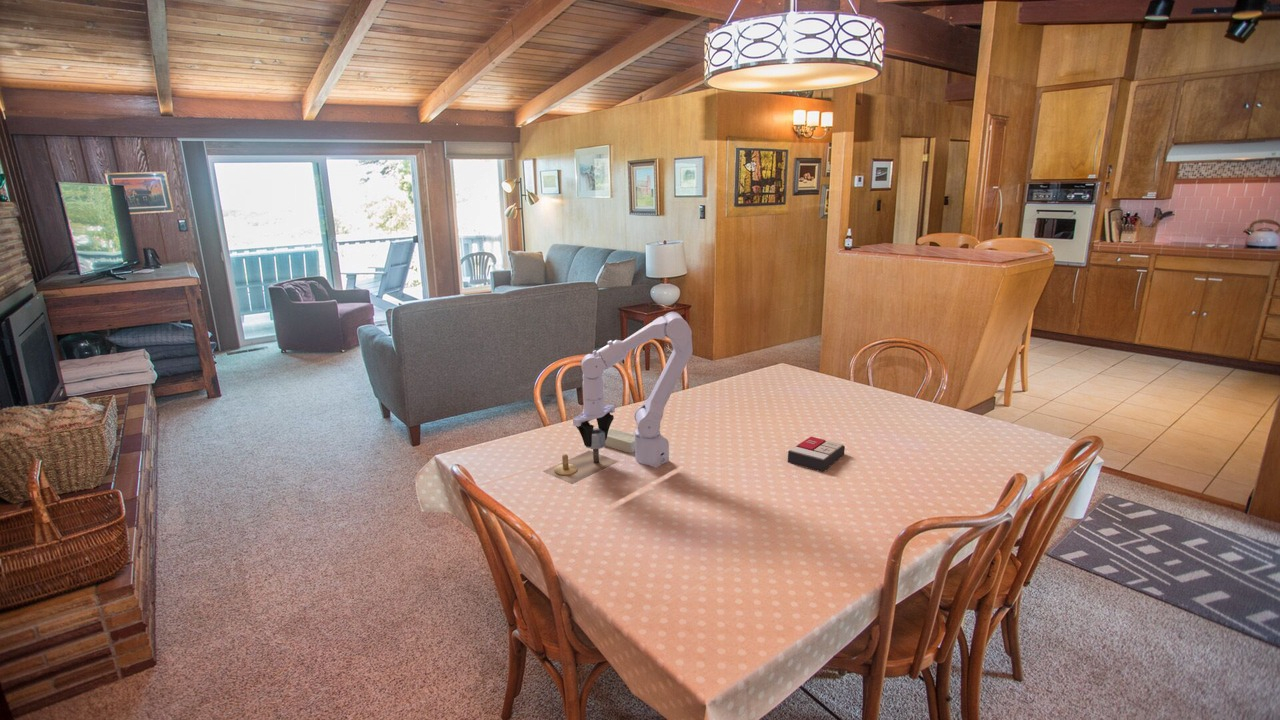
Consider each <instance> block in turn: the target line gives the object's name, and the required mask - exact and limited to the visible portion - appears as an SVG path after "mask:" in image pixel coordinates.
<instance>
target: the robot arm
mask: <svg viewBox="0 0 1280 720" xmlns="http://www.w3.org/2000/svg"><path fill="white" fill-rule="evenodd" d="M692 334H693V332H692V329H691V327H690V325H689V323H688V322H687V321H686V320H685V319H684V318H683V317H682V315H681V314H680V313H678V312H676V311H670V312H669V311H668V312H667V313H666V314H664V315H662V316H658V317H657V318H656V319H654V320H652V321H651V322H650V323H648V324H647V325H645V326H644V327H642V328H640V329H639V330H637V331H636V332H634V333H633V334H631V335H629V336H628V337H626V338H625V339H624V340H620V339H615V340H612V339H610V340H608V341H607V344H606V345H605V346H603V347H601V348H599V349H598V350H596V349H594V350H593V351H592V353H587V354H586V355H585V356H583V357H582V360H581V361H580V367H581V371H582V400H583V409H582V412H581V413H580V414H579V415H577V416H575V417H574V418H572V426H574V427H576V429H577V430H578V432H579V434H580V435H581V438H582V441H583V445H584V446H585V447H586V446H587V447H591V445H592V431H593V428H595V425H593V424H591V423H590V421H591V422H592V421H593V420H596V422H597V425H598V427H597V428H600V429H603V430H605V440H606V439H607V435H608V431H609V430H610V427H611V425H612V423H613V421H614V415H613V414H614V413H615V405H613V404H607V405H605V398H604V397H605V396H604V395H605V394H604V393H605V391H604V381H603V373H604V370H608V369H609V368H611V367H613V366H614V365H616V364H619V362H622V361H623V360H625V359H627V357H628V354H629V352H630V351H632V350H634V349H636V348H637V347H639V346H641V345H643V344H645V343H647V342H649V341H651V340H653V339H659V340H660V339H661V340H666V339H667V338H666V336H667V337H668V339H669V341H670V344H671V346H672V352H671V353H670V356H669V358H668V359H667V361H666V364H665V365H664V367H663V369H662V371H661V374H660V375H659V377H658V379H657V381H656V382H655V385H654V387H653V389H652V391H651V393H650V395H649V397H648V398H646V399H645V401H644V402H643V403H642V405H641V406H640V407H638V408H637V409H636V411H635V413H634V421H635V423H636V426H637V427H636V429H634V434H635V451H634V455H635V456H634V457H635V458H634V460H635V461H636V462H637V463H638V464H641V465H646V466H650V467H652V468H658V467H660V466H661V465H664V464H666V463H667V462H669V461H670V443H669V439H668V438H666V437H664V436H663V435H662V433H661V421H662V419H663V417H664V411H665V407H666V405H667V403H668V401H669V399H670V397H671V395H672V394H673V391H674V389H675V387H676V385H677V383H678V382H679V380H680V378H681V376H682V374H683V372H684V370H685V368H686V366H687V364H688V363H689V360H690V358H691V357H692V355H693V351H694V350H693V338H692ZM612 413H613V414H612ZM587 447H586V448H587Z"/></svg>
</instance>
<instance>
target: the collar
mask: <svg viewBox="0 0 1280 720" xmlns="http://www.w3.org/2000/svg"><path fill="white" fill-rule="evenodd" d="M604 447H606V446H605V430H603V429H600V428H598V427H597V428H595V427H593V431H592V445H591V447H587V446H585V448H588V449H590V450H593V449H599V450H600V449H603V448H604Z"/></svg>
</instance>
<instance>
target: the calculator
mask: <svg viewBox="0 0 1280 720" xmlns="http://www.w3.org/2000/svg"><path fill="white" fill-rule="evenodd" d="M845 448H846V447H845V445H844V444H843V443H841V442H840V443H839V442H835V441H831V440H826V439H824V438H823V439H822V438H819V437H814V436H810V437H808V438H806V439H805V440H803V441H802V442H800V443H798V444H797V445H796V446H794V447H793V448H791V449H790V450H788V452H787V463H789V464H792V465H797V466H800V467H804V468H806V467H807V468H806V469H810V470H813V469H814V470H815V471H817V470H818V472H820V473H824V472H826V471H827V470H828V469H829V468H830V467H831V466H832V465H833V464H834V463H836V462H837V461H838V460H840V459H841V458H842V457H843V456H844V455H845V450H846V449H845ZM840 457H841V458H840ZM839 458H840V459H839ZM814 470H813V471H814ZM825 470H826V471H825Z"/></svg>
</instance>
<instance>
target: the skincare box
mask: <svg viewBox="0 0 1280 720" xmlns="http://www.w3.org/2000/svg"><path fill="white" fill-rule="evenodd" d="M605 447H609V448H612V449H615V450H618V451H622V452H626V453H628V454H632V453H635V433H631V432H628V431H623V430H620V429H616V428H609V431H608V435H607V439H606V440H605Z"/></svg>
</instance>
